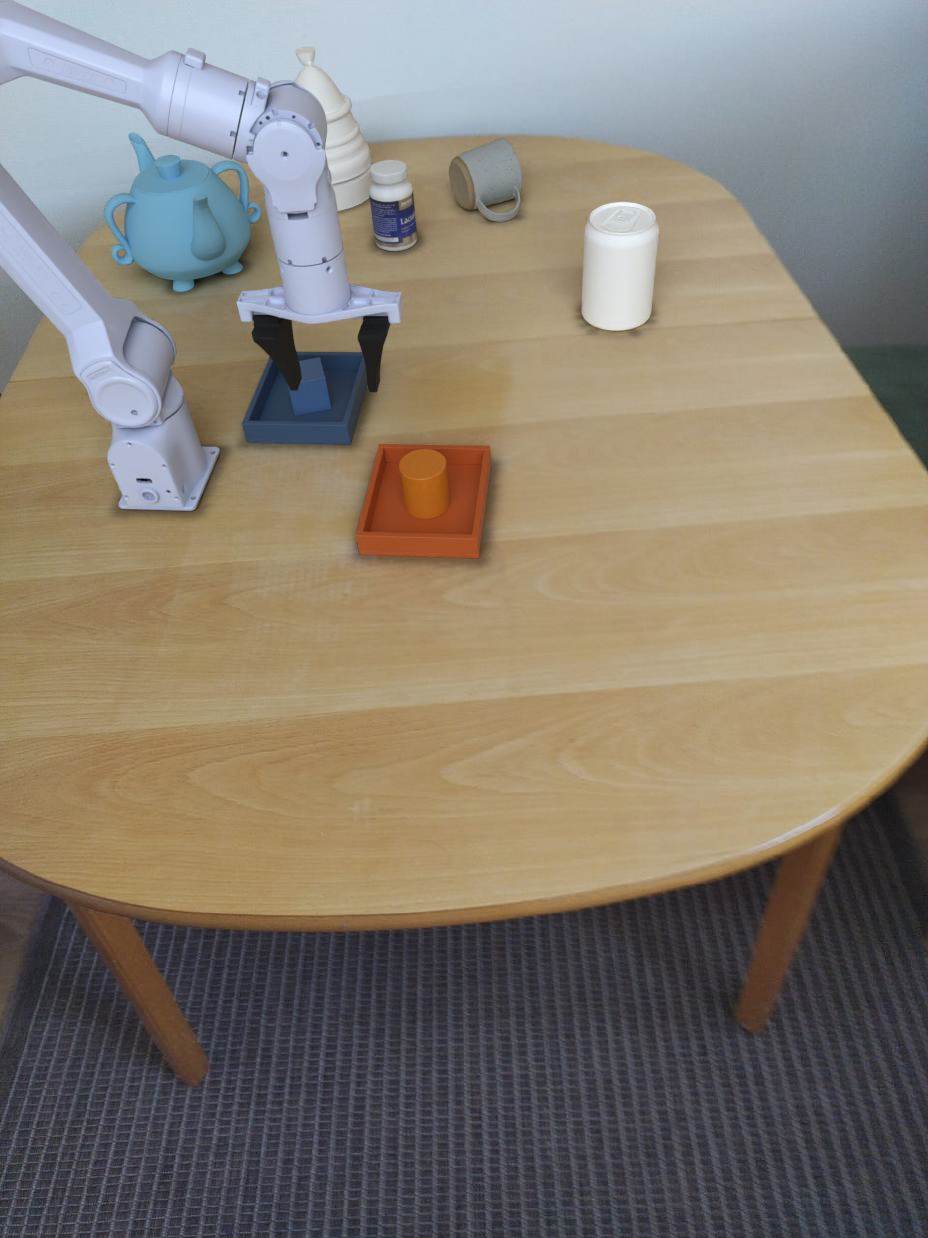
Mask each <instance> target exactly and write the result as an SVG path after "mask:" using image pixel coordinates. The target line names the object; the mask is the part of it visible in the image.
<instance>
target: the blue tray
mask: <svg viewBox="0 0 928 1238" xmlns="http://www.w3.org/2000/svg"><path fill="white" fill-rule="evenodd" d="M296 352H297V356H298V359H299V361H302V360H308V359H313V358H318V357H320V360H321V363H322V367H323V371H324V375H325V379H326V384H327V389H328V394H329V398H330V403H331V409H328V410H323V411H317V412H312V413H307V414H302V415H297V416H295V414H294V410H293V406H292V401H291V397H290V393H289V389H288V385H287V382H286V380H285V379H284V377H283V375H282V373H281V372H280V370H279V369H278V367H277V366H276V364H275V363H274V361H273V360H272V359H271V358H270V357H269V356H268V359H267V362H266V364H265V367H264V369H263V371H262V374H261V377H260V379H259V382H258V384H257V386H256V389H255V391H254V394H253V395H252V398H251V400H250V403H249V405H248V408H247V410H246V413H245V415H244V418H243V420H242V422H241V426H242V430H243V433H244V437H245V440H246V443H247V444H292V445H294V444H296V445H297V444H298V445H345V446H346V445H350V446H351V445H352V441H353V438H354V434H355V430H356V427H357V423H358V420H359V418H360V417H359V416H360V413H361V410H362V406H363V403H364V399H365V396H366V392H367V389H368V385H367V375H366V366H365V361H364V357H363V354H362V351H296Z"/></svg>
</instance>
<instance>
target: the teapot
mask: <svg viewBox="0 0 928 1238" xmlns="http://www.w3.org/2000/svg"><path fill="white" fill-rule="evenodd" d="M128 139H129V142H130V143H131V145H132V148H133V150H134V152H135V154H136V159H137V163H138V169H139V173H137V175H136V176H135V178H133V181H132V184H131V186H130V190H129V192H121V193H117V194H115V195H113V196H112V197H110V198H109V199H108V200H107V202H106V203H105V205H104V208H103V215H104V220H105V223H106V224H107V227H108V228H109V230H110V232H111V233H112V235H113V236H114V237H115V239H116V240H117V242H118V243H116V244H115V245H113V246H112V248H111V252H110V256H111V259H112V260H113V262H114V263H116V265H118V266H119V265H120V266H125V267H126V266H130V265H132V264H133V263H135V264H136V265H137V266H138V267H140V268H142V269H143V270H144V271H146V272H148V273H150V274H151V275H153V276H155V277H157V278H160V279H164V280H169V281H172V290H173V291H174V292H179V293H182V292H187V291H190V290H192V289H194V287H195V280H197V279H202V278H206V277H210V276H213V275H215V274H218V273H220V272H221V273H223V274H225V275H235V274H238V273H240V272H241V271H242V270H243V269H244V266H243V265H242V264H241V262H239V259H240V258H241V257H242V255H243V254H244V252H245V250H246V249H247V247H248V245H249V243H250V241H251V236H252V227H251V225H253V224H256V223H257V222H258V221H259V220H260V219H261V218H262V208H261V206H260V205H259V203H258V202H256V201H253V200H250V198H249V197H250V183H249V182H250V181H249V177H248V174H247V172H246V170H245V168H244V167H243V166H242V165H240V163H239V162H238V163H237V161H234V160H220V161H218V162H216V163H215V164H213V165H212V166H211V167H209V166H208V165H207V164H205V163H204V162H201V161H199V160H195V159H181V157H180V156H179V155H174V154H165V155H162V156H160V157H158V158H155V156H154V155H153V153H152V152H151V150H150V148H149V145H148V144H147V143H146V141H145V139H144V138H143V137H142V136H141V135H140V134H139V133H137V132H135V131H133V132H129V133H128ZM226 171H235V172H236V173H237V176H238V180H239V198H238V196H237V195H236V194H235V192H234V191H233V190H232V188H230V186H229V185H228V184H227V183H226V182H225V181H224V180H223V179H222V177H220V176H219V175H220V174H222V173H224V172H226ZM124 204H126V205H125V211H124V216H123V218H124V220H123V229H124V233H122V231H121V229H120V228H119V226H118V225H117V223H116V221H115V218H114V211H115V210H116V209H117V208H119V206H121V205H124ZM252 209H253V210H254V211H253V212H252V213H251V214H250V213H249V210H252ZM120 251H124V254H125V255H122V256H120V255H119V252H120Z"/></svg>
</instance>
